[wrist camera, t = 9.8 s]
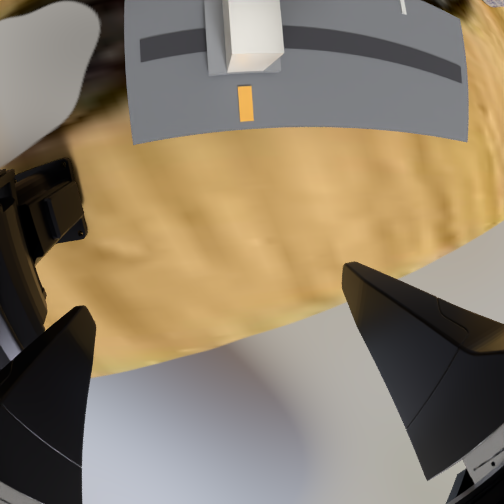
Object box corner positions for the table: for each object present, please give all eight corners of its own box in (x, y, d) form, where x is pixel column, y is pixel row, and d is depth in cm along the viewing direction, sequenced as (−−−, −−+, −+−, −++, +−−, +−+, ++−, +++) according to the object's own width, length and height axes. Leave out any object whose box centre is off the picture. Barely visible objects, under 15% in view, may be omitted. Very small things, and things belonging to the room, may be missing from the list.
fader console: (141, 141, 17) (132, 145, 15) (133, -8, 11) (125, -19, 9) (452, 138, 19) (468, 142, 17) (445, 21, 13) (460, 19, 11)
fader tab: (209, 76, 13) (205, 56, 8) (204, 5, 11) (200, -39, 6) (278, 72, 14) (309, 54, 9) (272, 2, 11) (298, -39, 6)
